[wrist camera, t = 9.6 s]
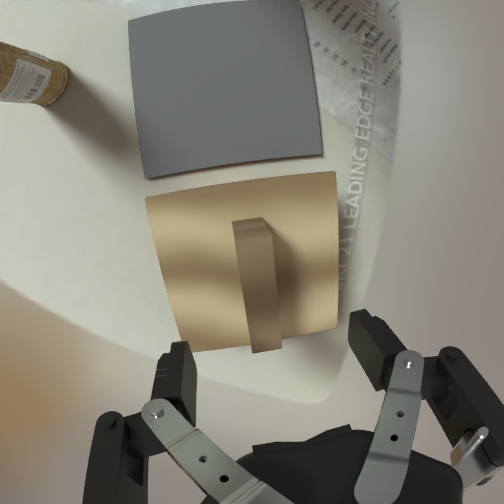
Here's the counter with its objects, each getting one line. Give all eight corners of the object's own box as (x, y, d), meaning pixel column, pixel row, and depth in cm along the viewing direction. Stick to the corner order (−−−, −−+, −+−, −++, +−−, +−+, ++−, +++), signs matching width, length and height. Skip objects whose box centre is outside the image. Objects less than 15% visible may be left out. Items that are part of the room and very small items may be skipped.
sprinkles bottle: (60, 53, 17) (-30, 15, 5) (76, 85, 19) (-23, 59, 6) (27, 83, 18) (-69, 70, 5) (41, 116, 19) (-62, 117, 7)
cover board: (146, 197, 19) (127, 212, 14) (332, 171, 19) (362, 179, 15) (186, 348, 24) (182, 387, 19) (334, 323, 24) (354, 356, 20)
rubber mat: (129, 22, 17) (128, 20, 17) (297, 2, 18) (299, 0, 18) (146, 178, 23) (145, 179, 22) (320, 153, 24) (322, 153, 23)
